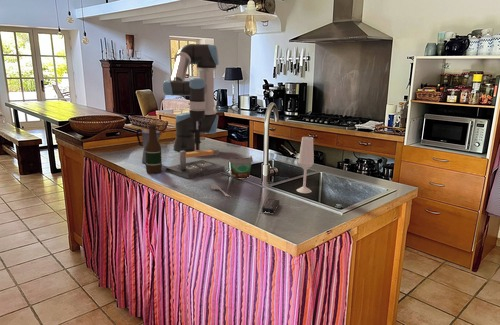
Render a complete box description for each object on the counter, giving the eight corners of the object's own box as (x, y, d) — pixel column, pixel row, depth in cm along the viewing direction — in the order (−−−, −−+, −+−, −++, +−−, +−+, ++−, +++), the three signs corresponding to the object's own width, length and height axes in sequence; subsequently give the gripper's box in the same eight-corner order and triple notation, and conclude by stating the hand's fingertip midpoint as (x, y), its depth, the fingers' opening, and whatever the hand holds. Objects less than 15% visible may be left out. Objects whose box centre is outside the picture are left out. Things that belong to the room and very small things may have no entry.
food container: (234, 181, 177) (234, 160, 174) (228, 177, 182) (229, 157, 180) (256, 178, 183) (257, 158, 180) (251, 174, 188) (251, 155, 185)
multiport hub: (279, 205, 149) (279, 199, 148) (273, 215, 139) (273, 209, 138) (268, 204, 150) (268, 198, 149) (261, 213, 140) (261, 208, 139)
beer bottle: (165, 170, 190) (163, 124, 184) (156, 174, 183) (154, 126, 177) (151, 169, 193) (150, 123, 186) (143, 173, 185) (140, 125, 179)
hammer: (214, 163, 198) (214, 147, 195) (218, 165, 194) (218, 148, 191) (178, 168, 187) (178, 150, 185) (182, 170, 183) (182, 152, 181)
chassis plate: (202, 163, 207) (202, 158, 206) (224, 169, 195) (224, 165, 194) (165, 171, 189) (165, 166, 189) (188, 179, 178) (188, 174, 177)
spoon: (216, 186, 169) (216, 183, 169) (239, 201, 152) (239, 197, 152) (208, 188, 167) (208, 184, 167) (230, 202, 150) (230, 198, 150)
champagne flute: (296, 192, 163) (299, 138, 157) (296, 187, 170) (300, 135, 164) (311, 193, 162) (315, 139, 156) (311, 188, 169) (315, 136, 163)
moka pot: (158, 165, 200) (157, 128, 195) (132, 163, 203) (130, 126, 198) (166, 161, 209) (165, 125, 204) (140, 159, 212) (139, 124, 207)
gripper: (190, 108, 191) (190, 152, 197) (189, 111, 179) (189, 158, 185) (204, 108, 192) (204, 152, 198) (204, 111, 180) (204, 158, 186)
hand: (197, 155), depth 192 cm, fingers closed
